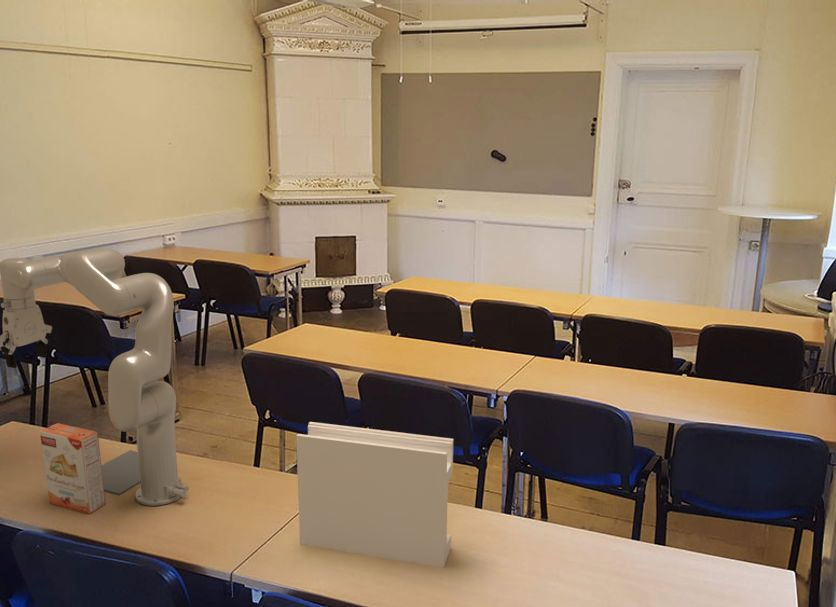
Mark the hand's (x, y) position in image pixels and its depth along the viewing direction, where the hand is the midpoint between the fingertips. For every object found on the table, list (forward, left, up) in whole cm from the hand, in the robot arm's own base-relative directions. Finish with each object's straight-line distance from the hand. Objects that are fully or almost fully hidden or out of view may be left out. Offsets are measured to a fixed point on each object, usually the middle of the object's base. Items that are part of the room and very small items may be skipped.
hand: (27, 362), depth 202 cm
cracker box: (-29, +13, -31) cm, 44 cm away
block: (-108, -3, -31) cm, 112 cm away
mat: (-27, -6, -31) cm, 41 cm away
